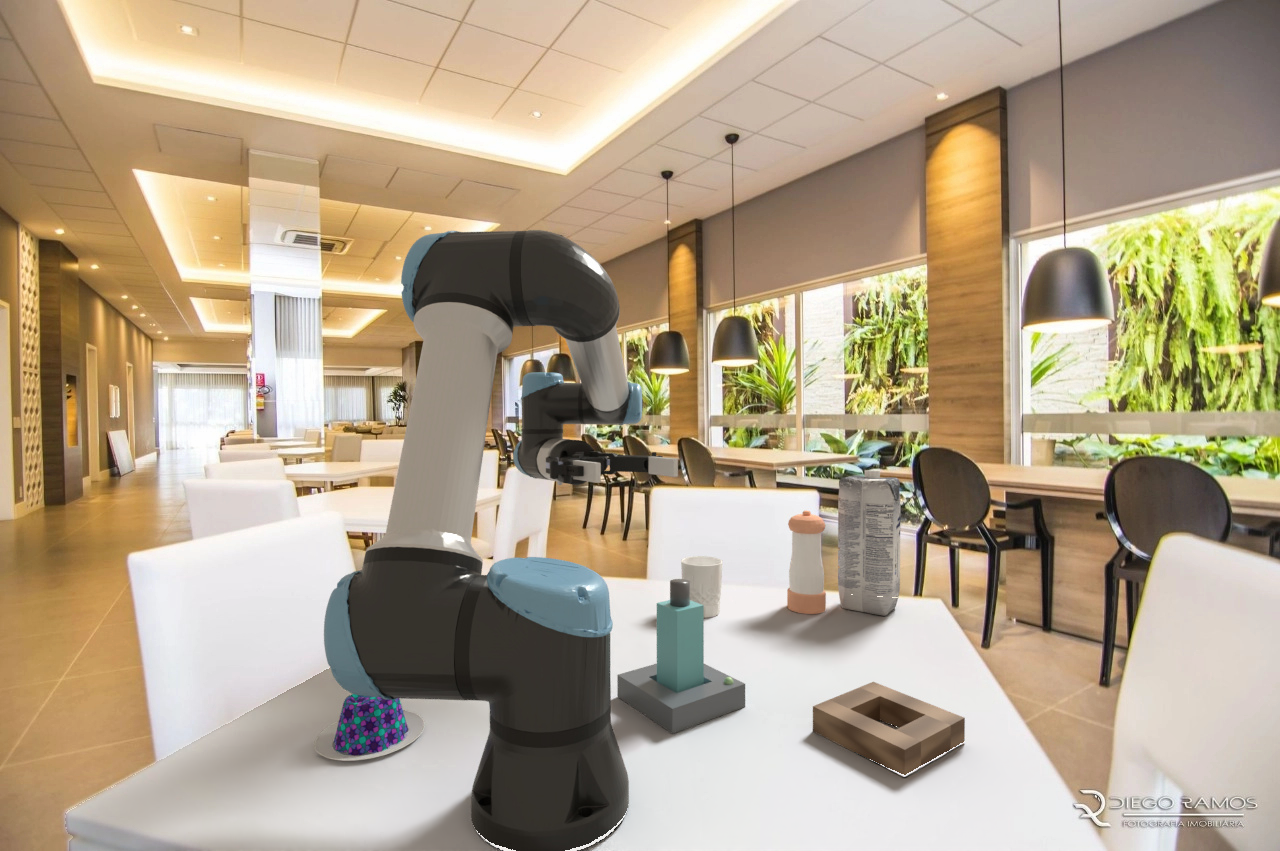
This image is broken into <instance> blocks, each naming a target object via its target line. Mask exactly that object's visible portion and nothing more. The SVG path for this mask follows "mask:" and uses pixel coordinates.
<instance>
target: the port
mask: <svg viewBox="0 0 1280 851" xmlns="http://www.w3.org/2000/svg"><path fill="white" fill-rule="evenodd" d="M616 676H617V680H616V681H617V687H616V688H617V698H619V699H620V700H621V701H623V702H625V703H626V704H628V705H629V706H631V707H632V708H633V709H635V710H636V711H637V712H639V713H641V714H642V715H644V716H645V717H647V718H649V719H650V720H652V722H654V723H655V724H657V725H659V726H660V727H662V728H663V729H665V730H666V731H668V732H669V733H670V734H675V733H679V732H682V731H683V730H687V729H689V728H692V727H694V726H697V725H700V724H702V723H705V722H708V721H711V720H713V719H716V718H719V717H721V716H724V715H727V714H729V713H732V712H734V711H738V710H740V709H742V708H743V709H744V708H745V707H746V683H744V682H742V681H740V680H738V679H736V678H734V677H733V676H730V675H728V674H726V673H725V672H722V671H720V670H719V669H716V668H714V667H712V666H710V665H708V664H706V663H704V684H703V685H700V686H697V687H694V688H691V689H688V690H685V691H682V692H679V693H675V692H674V691H672V690H670V689H668V688H667V687H665V686H663V685H662V684H660V683H658V682H657V663H653V664H650V665H647V666H643V667H639V668H637V669H633V670H629V671H625V672H623V673H618V674H617V675H616Z"/></svg>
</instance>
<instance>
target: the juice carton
mask: <svg viewBox="0 0 1280 851" xmlns="http://www.w3.org/2000/svg"><path fill="white" fill-rule="evenodd" d="M900 485H901V484H900V479H899V478H897V477H893V476H892V477H881V471H880V470H872V469H871V470H870V469H869V470H868V469H867V470H866V469H864V475H858V474H857V475H856V474H854V475H849V476H846V477H842V478H840V479H839V482H838V497H837V498H838V500H837V502H838V503H837V506H838V510H837V514H838V515H837V517H838V518H837V526H838V527H837V532H838V533H837V549H838V550H837V589H838V596H839V602H840V606H841V608H842V609H843V610H844V609H845V610H849V611H855V612H859V613H860V612H861V613H865V614H871V615H876V616H883V617H886V616H887V615H889V613H890V612H892V611H893V610H894V609H895V608H896V606H897V603H898V600H899V596H900V590H901V589H900V588H901V492H900V491H901V490H900ZM851 594H853V595H851ZM877 596H883V597H877ZM892 597H898V598H892Z"/></svg>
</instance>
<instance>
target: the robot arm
mask: <svg viewBox="0 0 1280 851" xmlns="http://www.w3.org/2000/svg"><path fill="white" fill-rule="evenodd" d="M400 283H401V284H402V286H403V290H402V291H401V299H402V305H403V307H404V310H405V312H406V313H405V314H406V315H407V317H408V318H409V320H410V321H411V322H412V324H413V327H414V330H415V333H417V335H418V336H419V337H421V339H422V340H423V342H422V347H421V352H420V357H419V362H418V367H417V372H416V377H415V383H414V388H413V392H412V397H411V402H410V403H411V404H410V406H409V407H410V408H409V414H408V418H407V423H406V428H405V432H404V438H403V444H402V447H401V453H400V458H399V464H398V468H397V473H396V474H397V475H396V478H395V484H394V488H393V494H392V498H391V499H392V500H391V504H390V510H389V514H388V519H387V525H386V530H385V534H384V535H383V537H382V538H380V539H379V540H378V541H376V542H374V543H373V544H372V545H370V546H368V547H367V548H366V549H365V554H364V557H363V558H364V559H363V563H362V567H361V570H355V571H353V572H351V573H348V574H345V575H344V576H343V577H341V578H340V579H339V581H338V582H337V584H336V588H334V589H333V590H332V591H331V593H330V596H329V599H328V601H327V604H326V605H327V606H326V609H325V615H324V622H323V623H324V624H323V644H324V652H325V658H326V661H327V664H328V666H329V667H330V670H331V671H330V672H331V673H332V674H331V675H332V676H333V678H334V680H335V682H337V684H338V685H339V686H340V687H341V688H342V689H343V690H345V692H348V693H351V695H352V694H356V695H362V696H374V697H380V698H382V699H385V700H390V699H391V700H392V699H398V698H400V699H409V700H410V699H411V700H413V699H414V700H445V701H449V700H450V701H478V702H479V701H480V702H482V701H483V702H488V705H489V732H488V736H487V739H486V742H485V746H484V749H483V750H482V751H483V752H482V755H481V759H480V761H479V764H478V767H477V771H476V774H475V777H474V781H473V784H472V788H471V794H470V796H471V797H470V799H471V800H470V806H471V807H470V808H471V809H470V810H471V812H470V813H471V814H470V815H471V816H470V817H471V818H472V819H471V823H473V824H472V826H473V825H474V827H475V829H476V830H477V831H478V833H480V835H482V836H483V837H484V838H485V839H487V840H488V841H489V842H491V843H494V844H495V845H499V846H502V847H506V848H508V849H511V850H512V849H513V850H516V851H565V850H570V849H572V848H576V847H580V846H583V845H586V844H589V843H591V842H592V841H594V840H595V839H598V837H600V836H603V835H604V834H606V833H607V832H608V831H609V830H611V829H612V828H613V827H614V826H616V825H617V823H618V822H619V821H620V820H621V819H622V818H623V816H624V815H625V813H626V811H627V808H628V809H629V806H628V804H629V805H630V802H629V801H630V796H629V795H630V793H629V792H630V791H629V789H630V788H629V787H630V786H629V784H630V781H629V775H628V771H627V768H626V765H625V761H624V758H623V756H622V753H621V750H620V746H619V743H618V740H617V736H616V734H615V731H614V728H613V726H612V718H611V717H612V716H611V714H612V713H611V712H612V710H611V703H612V702H611V701H612V700H611V699H612V698H611V697H612V695H611V632H612V631H613V624H614V623H613V622H614V621H613V619H612V616H611V615H612V614H611V605H610V604H611V602H610V601H611V600H610V591H609V587H608V584H607V582H606V581H605V579H604V578H603V577H602V576H601V575H600V574H599V573H597V572H596V571H594V570H593V569H590V568H589V567H588V566H585V565H582V564H579V563H575V562H573V561H572V562H571V561H568V560H563V559H556V558H551V557H550V558H549V557H539V556H527V557H525V558H523V557H507V558H505V559H501V560H498V561H496V562H494V563H493V564H492V565H491V567H490V568H489V571H488V572H487V574H482V572H483V571H482V570H483V558H482V557H481V556H480V554H479V553H478V552H477V551H476V550H475V548H474V547H473V545H472V538H473V537H472V535H473V528H474V522H475V516H476V515H475V514H476V507H477V499H478V494H479V492H478V491H479V486H480V481H481V480H480V479H481V478H480V477H481V472H482V466H483V465H482V464H483V459H484V452H485V451H484V450H485V449H484V448H485V444H486V435H487V430H488V420H489V415H490V414H489V413H490V407H491V402H492V401H491V400H492V393H493V386H494V378H495V372H496V366H497V365H496V364H497V357H498V354H499V353H501V352H503V351H505V350H506V349H508V348H509V347H510V345H511V343H512V340H513V332H514V328H515V327H536V326H537V327H539V326H540V327H541V326H543V327H544V326H545V327H551V328H553V330H555V332H556V333H557V334H558V335H559V336H560V337H562V339H564V340H565V342H566V345H567V348H568V350H569V353H570V355H571V358H572V360H573V363H574V366H575V370H576V371H577V372H576V373H577V374H578V377H579V379H580V382H565V381H564V377H563V374H561V373H560V372H559V373H558V372H546V371H545V372H542V371H540V372H539V371H538V372H527V373H526V374H524V376H523V377H522V383H521V385H522V386H521V397H520V400H521V440H520V441H518V443H517V444H516V445H515V448H514V450H513V454H512V458H513V459H512V460H513V463H514V466H515V467H516V469H517V470H518V471H519V472H520V473H521V474H523V475H525V476H528V477H530V478H532V479H539V480H545V481H546V480H547V481H552V482H556V483H557V484H556V485H558V486H562V485H563V484H567V485H573V486H580V485H583V484H585V483H587V482H589V483H594V484H596V483H598V484H599V483H601V482H602V481H601V475H608V476H609V475H615V474H616V473H617V472H621V473H622V472H625V473H626V472H627V473H648V474H649V475H653V476H654V475H656V476H663V477H670V478H678V477H679V470H678V469H679V458H672V457H663V455H657V452H655V451H654V452H653V451H651V455H636V454H633V455H632V454H630V455H629V454H625V455H624V454H618V453H614V452H601V451H596V450H595V449H594V448H593V447H592V445H590V444H589V443H588V442H586V441H584V440H580V439H569V438H564V436H563V434H564V425H616V426H618V425H619V426H624V425H634V424H639V423H640V422H641V420H642V418H643V417H642V416H643V391H642V389H643V388H642V386H641V385H640V384H639V383H637V382H636V383H635V382H634V383H633V382H629V381H628V377H627V374H626V369H625V368H626V367H625V365H624V359H623V354H622V349H621V343H620V340H619V335H618V330H617V324H618V321H619V318H620V312H621V308H620V303H619V302H620V301H619V296H618V293H617V290H616V286H615V285H614V283H613V280H612V278H611V277H610V275H609V274H608V273H607V271H606V270H605V268H604V267H603V266H602V265H601V263H600V262H598V260H597V259H596V258H595V257H594V256H593V255H592V254H591V253H589V252H588V251H587V250H586V249H585V248H583V246H580V245H579V244H577V243H576V242H574V241H572V240H571V239H570V238H568V237H565V236H564V235H561V234H558V233H556V232H552V231H548V230H541V229H529V230H507V231H505V230H503V231H502V230H501V231H500V230H499V231H498V230H497V231H458V230H448V231H445V232H439V233H429V234H426V235H423V236H421V237H419V238H418V239H417V240H416V241H415V242H413V243H412V245H411V246H410V248H409V249H408V252H407V254H406V256H405V259H404V263H403V266H402V271H401V279H400ZM608 467H609V470H607V468H608ZM627 812H628V811H627ZM626 814H627V813H626ZM474 827H473V828H474ZM475 829H474V830H475Z"/></svg>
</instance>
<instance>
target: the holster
mask: <svg viewBox="0 0 1280 851" xmlns="http://www.w3.org/2000/svg"><path fill="white" fill-rule="evenodd" d="M965 718H966V717H965V716H962V715H959V714H957V713H954V712H951V711H948V710H946V709H944V708H941V707H939V706H936V705H934V704H931V703H928V702H926V701H924V700H921V699H919V698H916V697H913V696H911V695H909V694H906V693H903V692H900V691H898V690H896V689H892V688H891V687H888V686H885V685H883V684H881V683H877V682H875V681H872V682H868V683H866V684H864V685H861V686H858V687H857V688H854V689H852V690H849V691H847V692H845V693H843V694H840V695H838V696H835V697H832V698H829V699H827V700H824V701H823V702H820V703H818V704H815V705H812V732H814V733H816V734H818V735H820V736H821V737H824V738H825V739H827V740H829V741H831V742H834V743H835V744H837V745H839V746H842V748H844V749H847V750H849V751H851V752H853V753H855V752H856V753H858V754H860V755H862V756H864V757H866V758H868V759H871V760H873V761H875V762H877V763H879V764H882V765H884V766H885V767H887V768H890V769H892V770H895V771H897V772H899V773H901V774H904V775H906V774H907V773H909V772H911V771H913V770H914V769H916V768H918V767H919V766H921V765H923V764H925V763H927V762H929V761H931V760H932V759H934V758H936V757H937V756H939V755H941V754H943V753H944V752H947V751H949V750H950V749H952V748H953V747H956V746H957V745H959V744H960V743H963V742H964V741H965V740H966V739H965V736H966V735H965V734H966V731H965V728H966V726H965V723H966V720H965ZM881 720H882V722H883V721H884V724H883V723H882V722H879V721H881ZM885 723H886V724H888V723H889V725H890V724H892V725H894V726H893V727H895V726H897V727H899V728H897V727H896V729H895V728H892V727H891V726H892V725H891V726H889V725H886V724H885ZM856 753H855V754H856ZM858 754H857V755H858ZM860 755H859V756H860ZM862 756H861V757H862ZM864 757H863V758H864ZM866 758H865V759H866ZM868 759H867V760H868Z"/></svg>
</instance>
